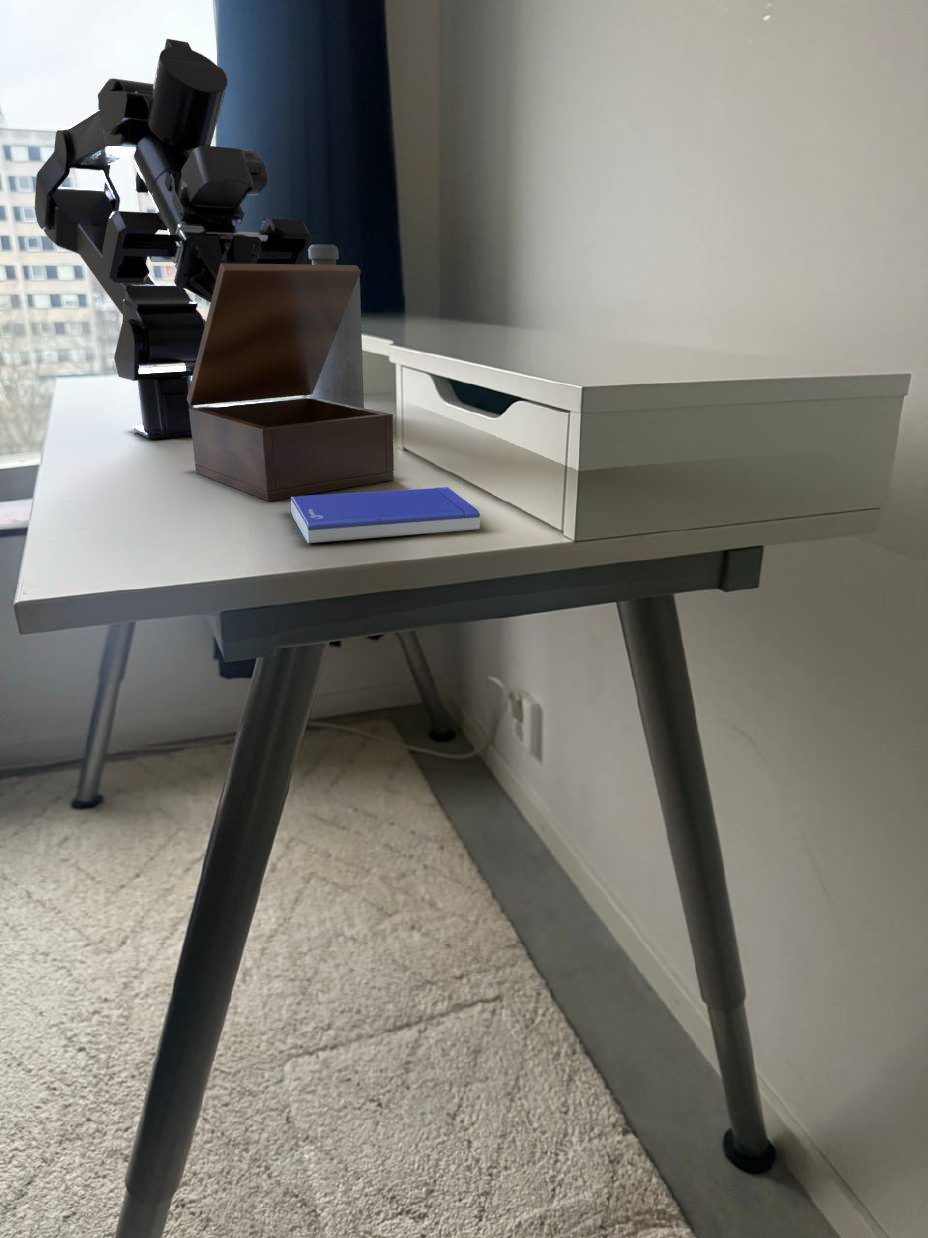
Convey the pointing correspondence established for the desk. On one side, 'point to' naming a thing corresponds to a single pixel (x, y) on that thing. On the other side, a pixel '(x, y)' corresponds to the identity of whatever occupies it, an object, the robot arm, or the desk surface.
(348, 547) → the desk surface
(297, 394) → the lid
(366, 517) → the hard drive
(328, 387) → the flask
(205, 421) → the keepsake box
